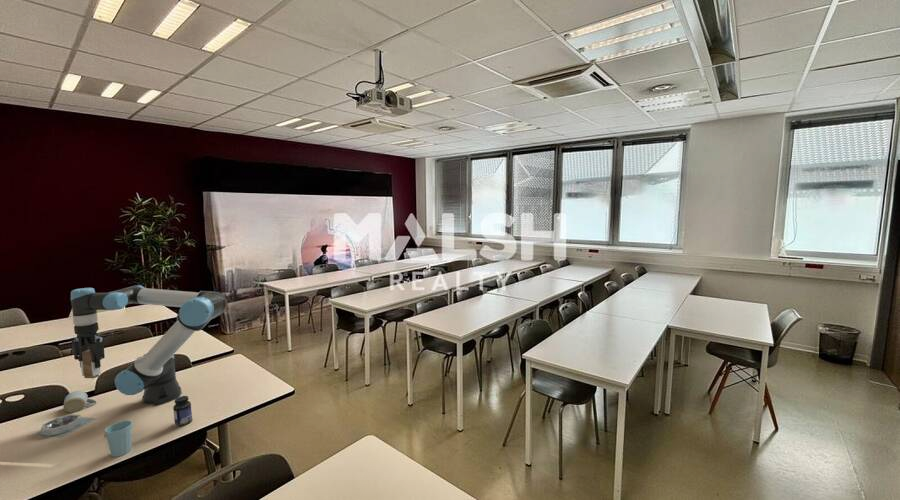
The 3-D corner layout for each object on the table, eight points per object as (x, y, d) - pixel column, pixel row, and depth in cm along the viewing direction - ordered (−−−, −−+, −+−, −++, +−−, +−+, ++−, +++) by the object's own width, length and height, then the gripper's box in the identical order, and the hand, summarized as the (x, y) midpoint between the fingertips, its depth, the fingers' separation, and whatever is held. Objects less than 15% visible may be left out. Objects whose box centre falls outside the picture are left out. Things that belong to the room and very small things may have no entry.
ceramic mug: (63, 416, 162) (62, 400, 162) (65, 409, 168) (63, 393, 168) (96, 408, 170) (95, 392, 169) (97, 401, 175) (95, 386, 175)
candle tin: (64, 420, 158) (64, 413, 158) (88, 420, 157) (87, 413, 157) (34, 435, 147) (33, 428, 147) (59, 436, 146) (58, 428, 146)
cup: (107, 451, 138) (105, 425, 137) (134, 443, 143) (132, 418, 142) (106, 461, 132) (103, 434, 131) (134, 452, 137) (132, 426, 136)
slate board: (97, 419, 160) (97, 417, 160) (61, 439, 146) (61, 437, 146) (70, 418, 161) (70, 416, 160) (31, 438, 147) (31, 436, 147)
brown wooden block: (89, 375, 163) (86, 350, 162) (98, 376, 163) (96, 350, 162) (84, 378, 161) (81, 351, 160) (93, 378, 161) (90, 352, 160)
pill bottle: (195, 418, 160) (193, 394, 159) (187, 426, 154) (185, 401, 153) (179, 419, 159) (177, 395, 158) (171, 427, 153) (169, 402, 152)
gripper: (112, 321, 163) (117, 371, 165) (77, 320, 164) (82, 370, 166) (95, 326, 155) (100, 379, 157) (58, 325, 157) (63, 377, 159)
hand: (91, 374), depth 162 cm, fingers closed on brown wooden block, 4 cm apart
